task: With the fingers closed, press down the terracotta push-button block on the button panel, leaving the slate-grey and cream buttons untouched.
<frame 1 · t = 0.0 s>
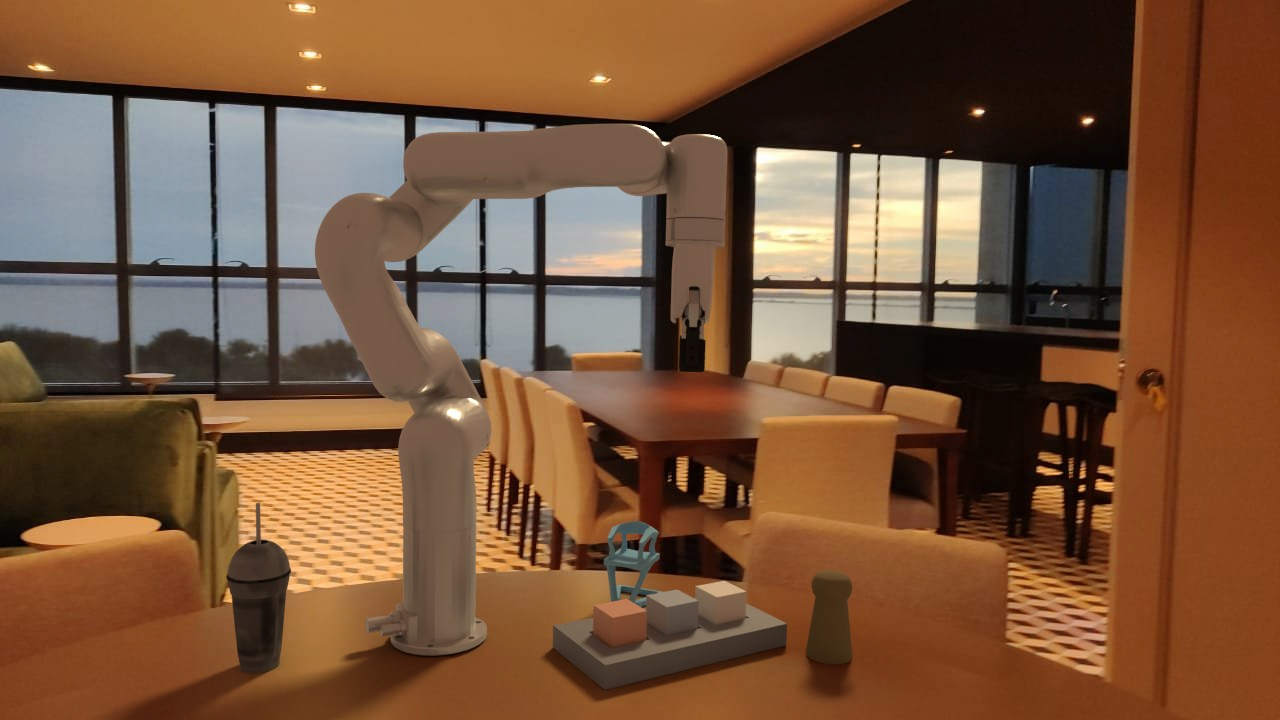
hand: (691, 368, 113), 37 cm above the table, tool pointing down, fingers open, 9 cm apart
beverage cup: (259, 666, 107), on the table
slate button: (671, 612, 116), point 5 cm above the table, slide at 0.0 cm
terracotta button: (619, 623, 112), point 5 cm above the table, slide at 0.0 cm
button panel: (670, 646, 116), on the table
chair: (631, 603, 133), on the table
cork: (828, 656, 115), on the table
cream button: (720, 602, 120), point 5 cm above the table, slide at 0.0 cm
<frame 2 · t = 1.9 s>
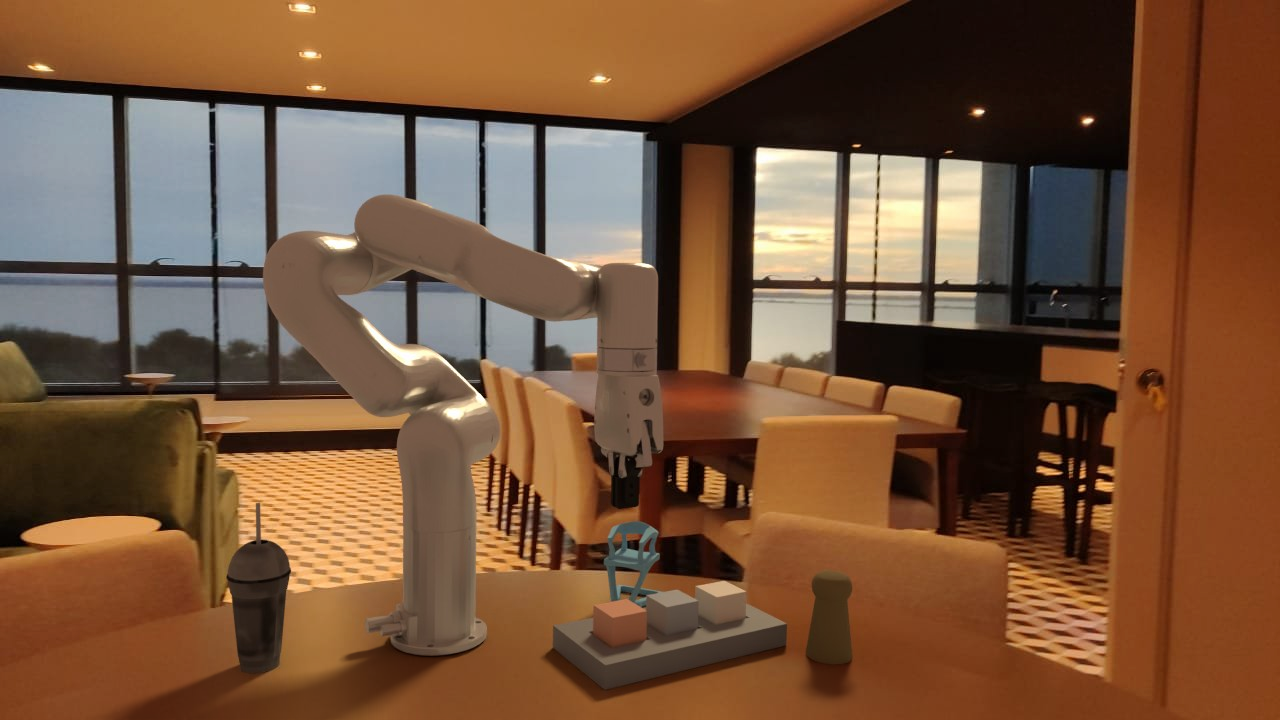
hand: (624, 506, 111), 20 cm above the table, tool pointing down, fingers closed
nothing on the table moved.
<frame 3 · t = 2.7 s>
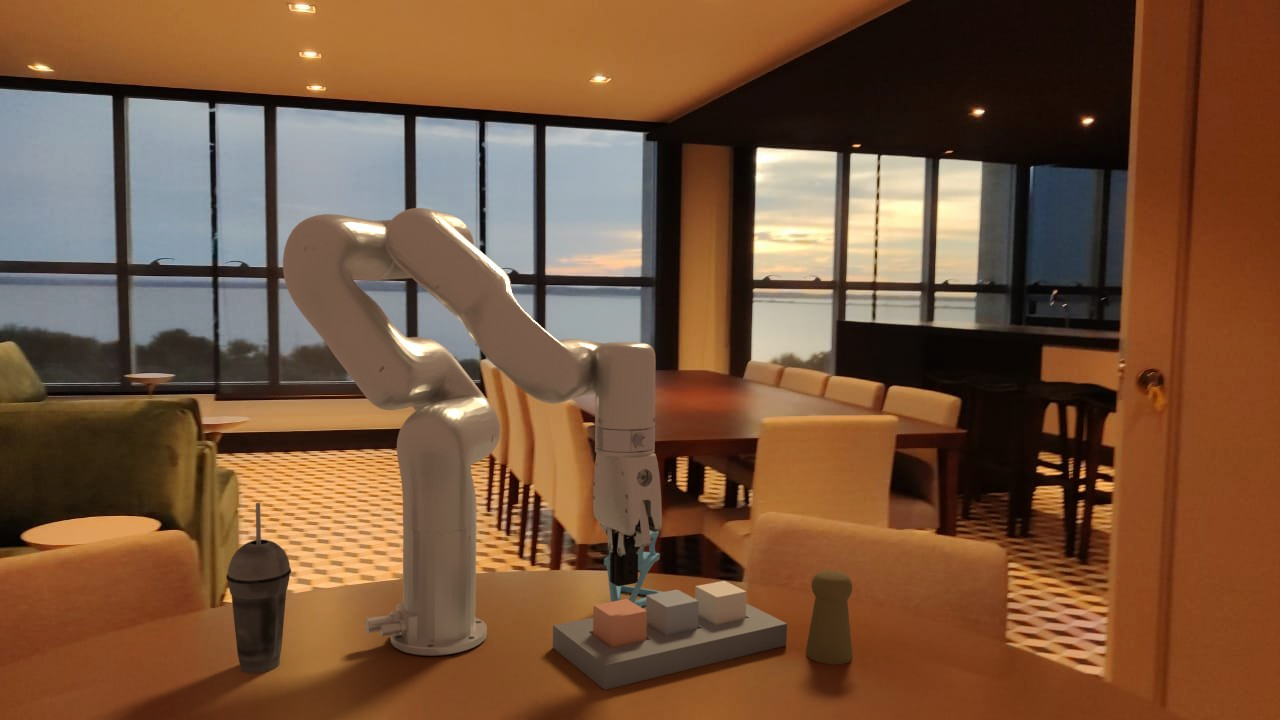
hand: (623, 582, 111), 10 cm above the table, tool pointing down, fingers closed
nothing on the table moved.
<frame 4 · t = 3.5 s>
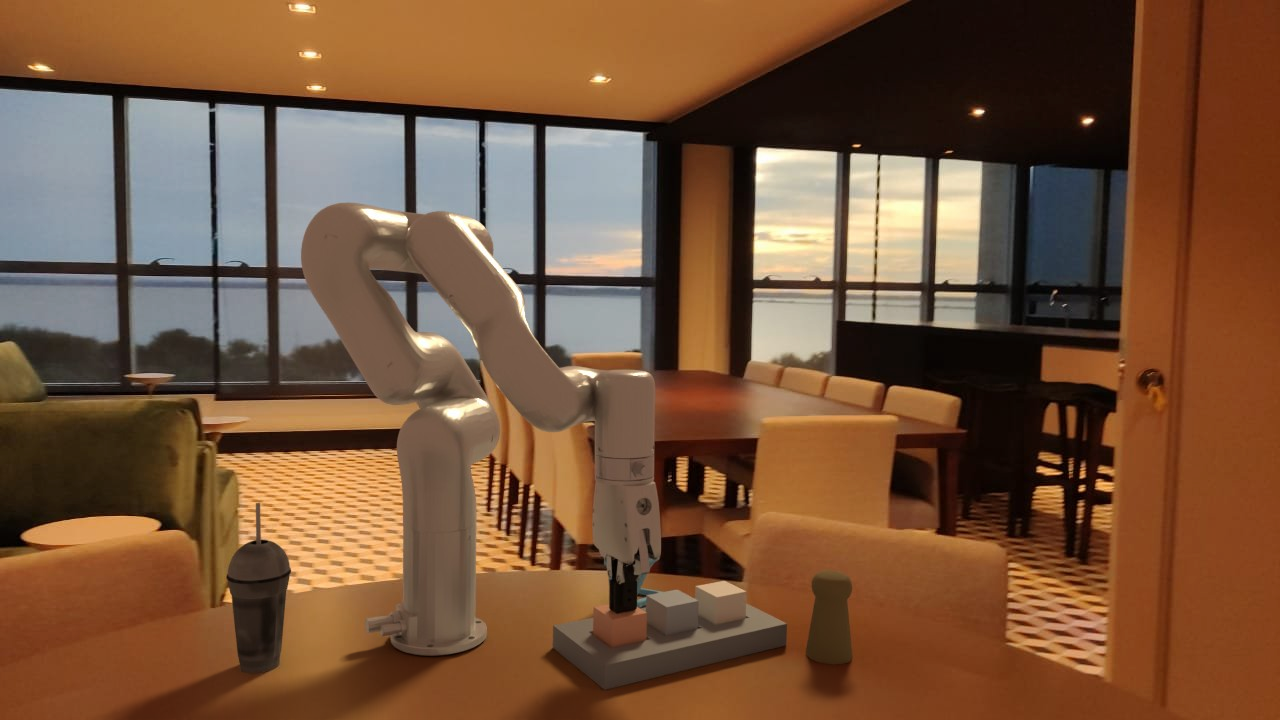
hand: (623, 609, 112), 6 cm above the table, tool pointing down, fingers closed
terracotta button: (619, 625, 112), point 4 cm above the table, slide at 0.2 cm, touching gripper
everything else where it was.
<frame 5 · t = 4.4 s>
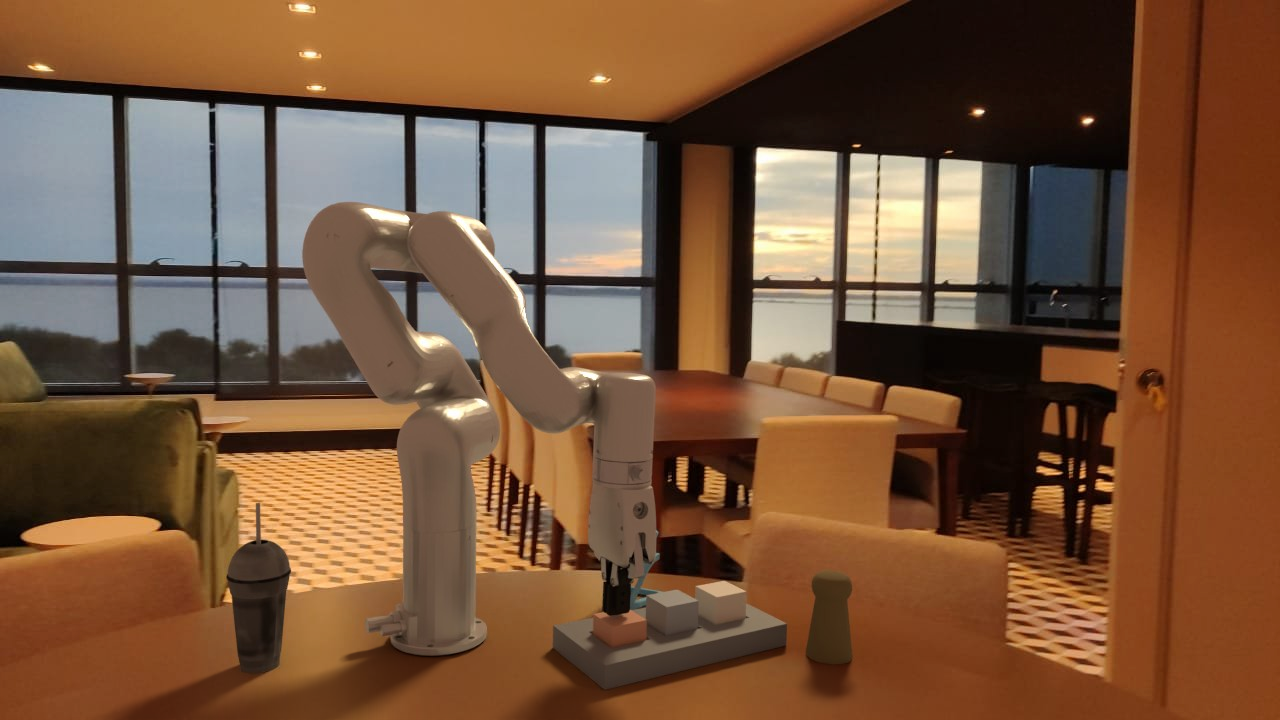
hand: (615, 612, 112), 6 cm above the table, tool pointing down, fingers closed
terracotta button: (619, 632, 112), point 3 cm above the table, slide at 1.2 cm
everything else where it was.
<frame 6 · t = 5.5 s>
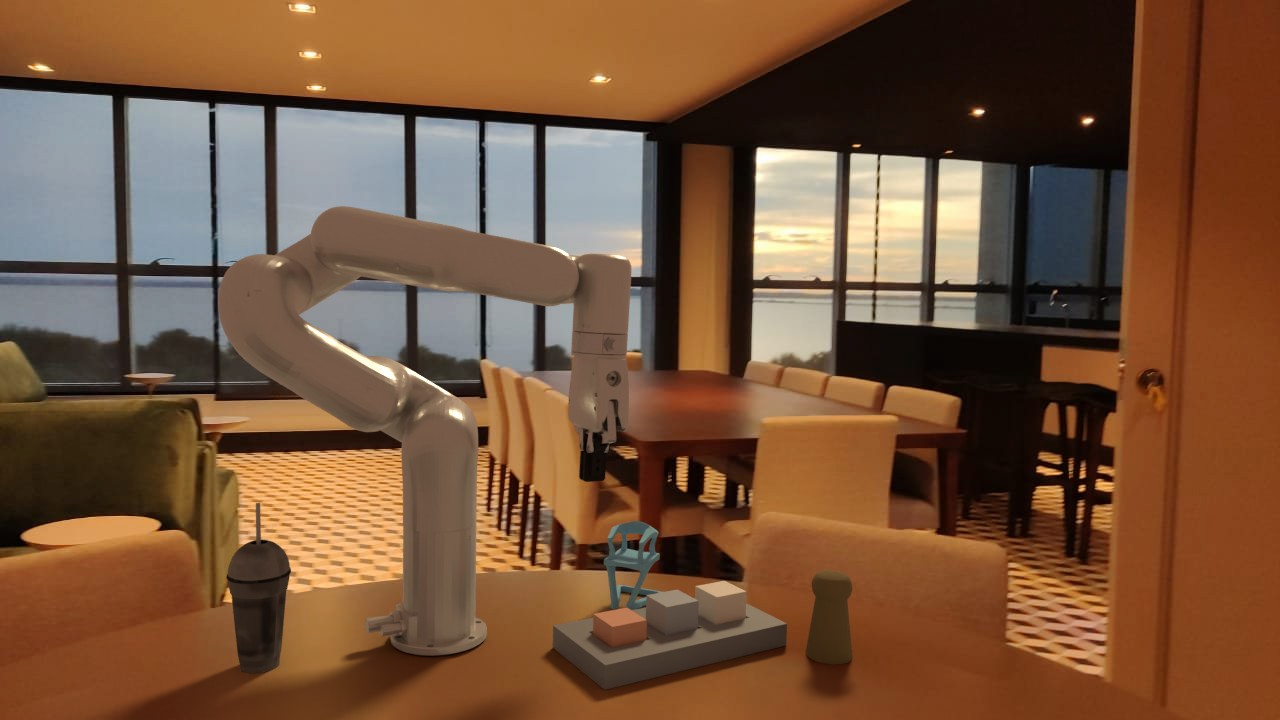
hand: (592, 479, 119), 21 cm above the table, tool pointing down, fingers closed
nothing on the table moved.
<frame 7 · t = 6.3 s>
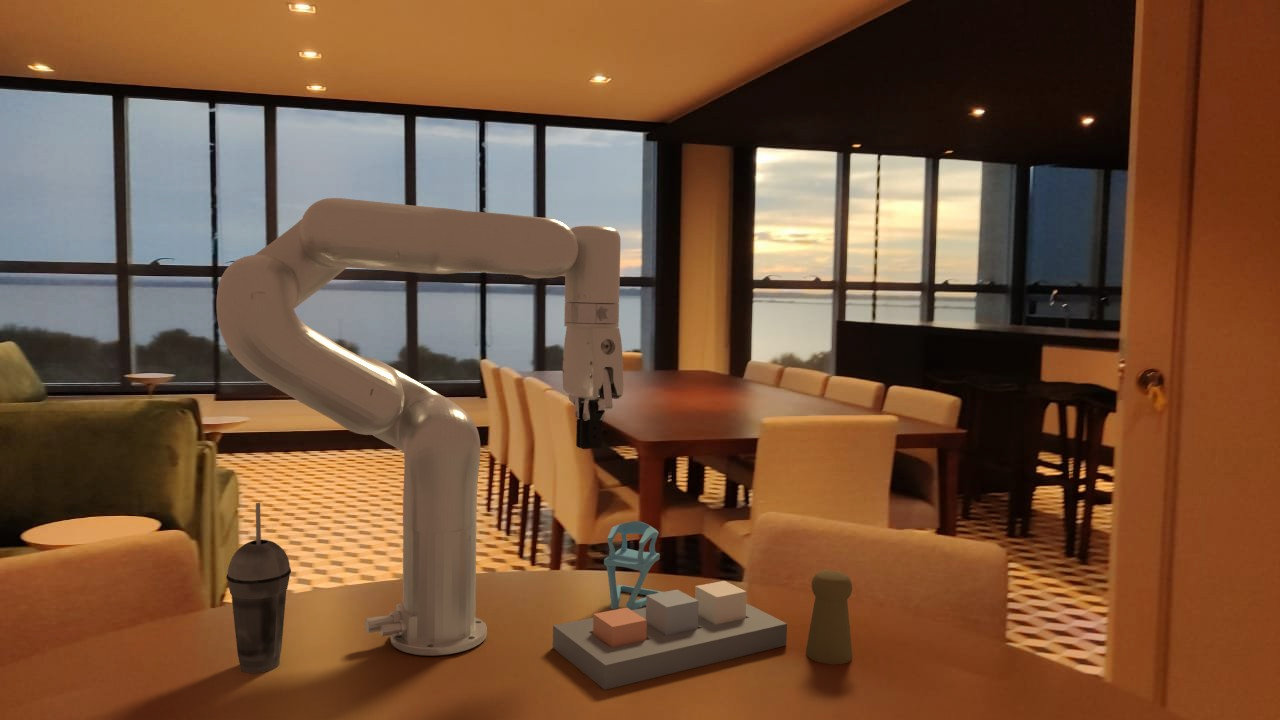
hand: (588, 447, 122), 25 cm above the table, tool pointing down, fingers closed
nothing on the table moved.
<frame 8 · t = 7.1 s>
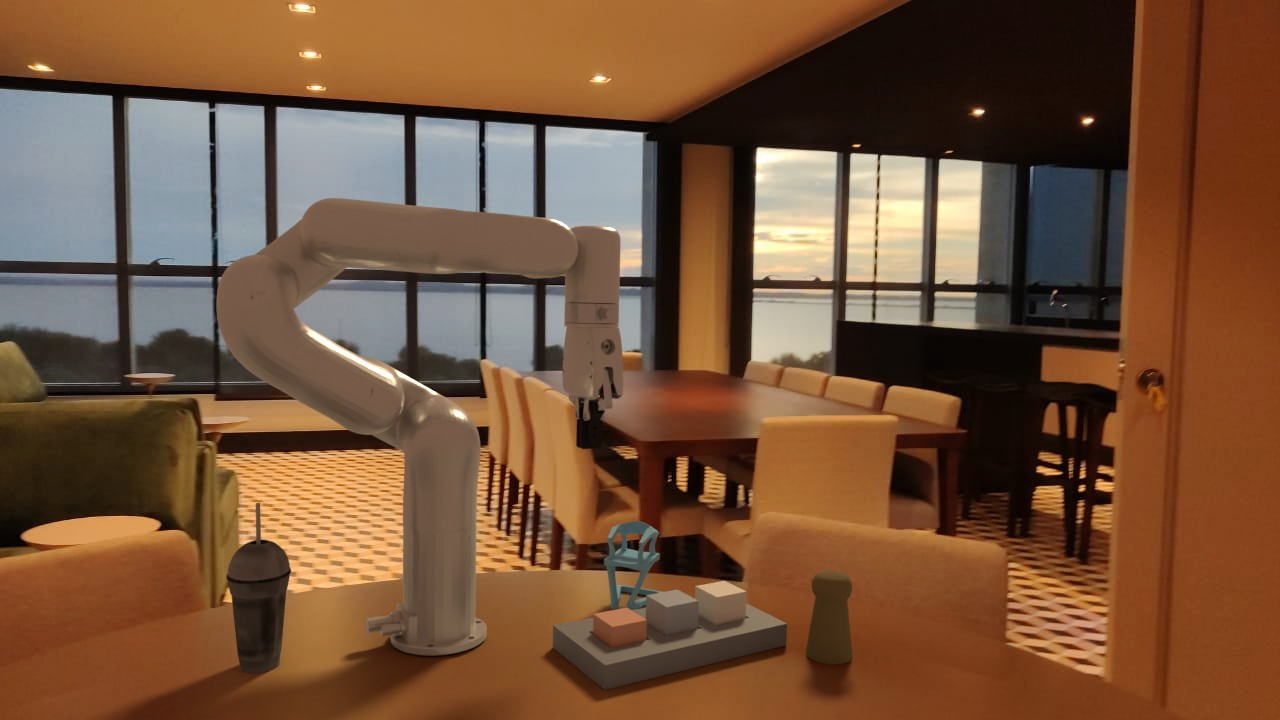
hand: (588, 447, 122), 25 cm above the table, tool pointing down, fingers closed
nothing on the table moved.
at the end: terracotta button slide at 1.2 cm; slate button slide at 0.0 cm; cream button slide at 0.0 cm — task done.
